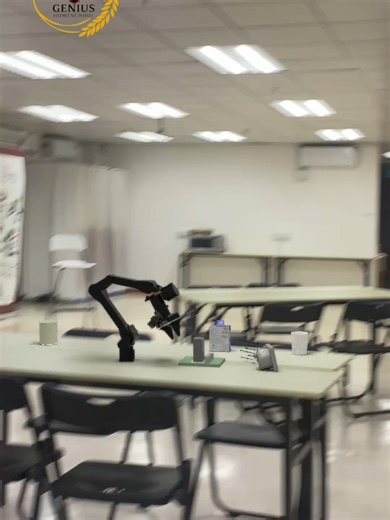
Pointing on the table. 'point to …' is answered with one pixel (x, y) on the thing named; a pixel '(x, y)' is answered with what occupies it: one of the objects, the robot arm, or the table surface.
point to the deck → (208, 362)
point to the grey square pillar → (198, 349)
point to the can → (48, 332)
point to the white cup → (299, 342)
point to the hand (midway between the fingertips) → (176, 337)
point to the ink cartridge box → (220, 337)
